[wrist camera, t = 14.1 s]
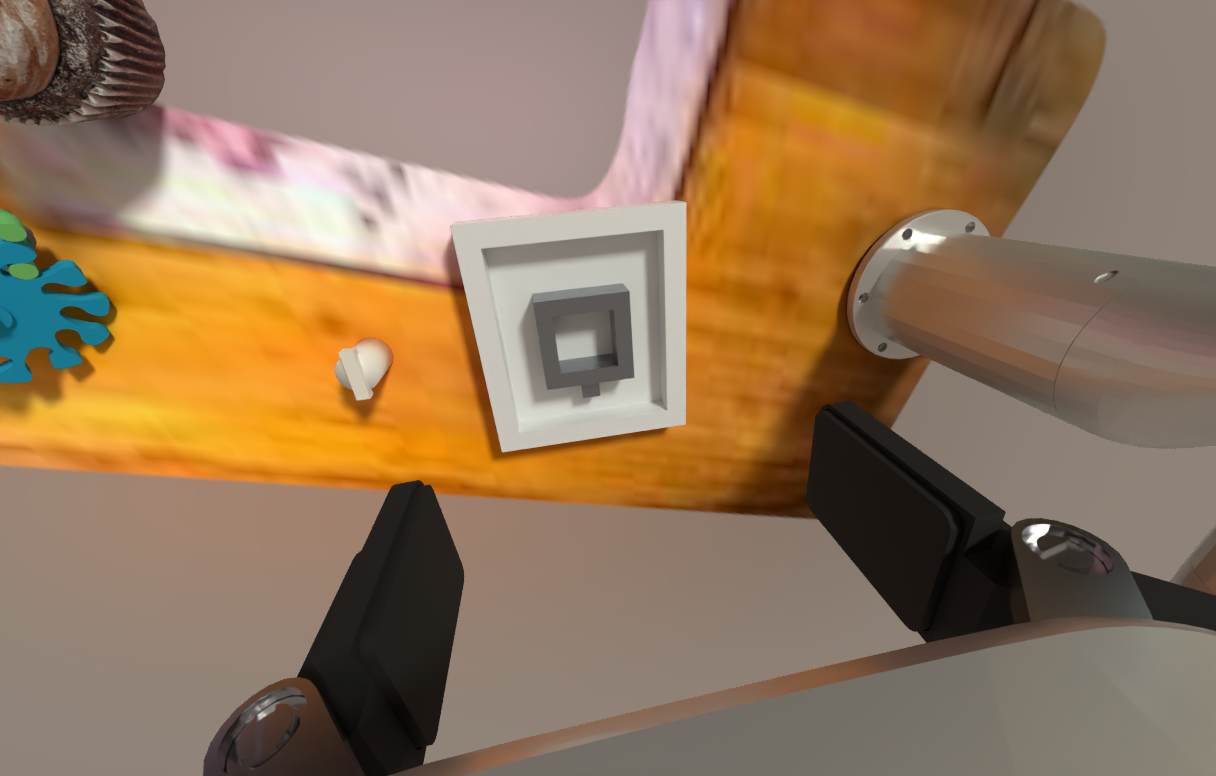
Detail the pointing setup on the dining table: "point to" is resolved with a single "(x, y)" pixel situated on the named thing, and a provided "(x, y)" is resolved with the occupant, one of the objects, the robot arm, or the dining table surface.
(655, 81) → the dining table surface
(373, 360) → the white rounded knob
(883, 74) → the dining table surface
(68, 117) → the cupcake
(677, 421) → the tray
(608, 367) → the grey square frame
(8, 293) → the blue virus model
